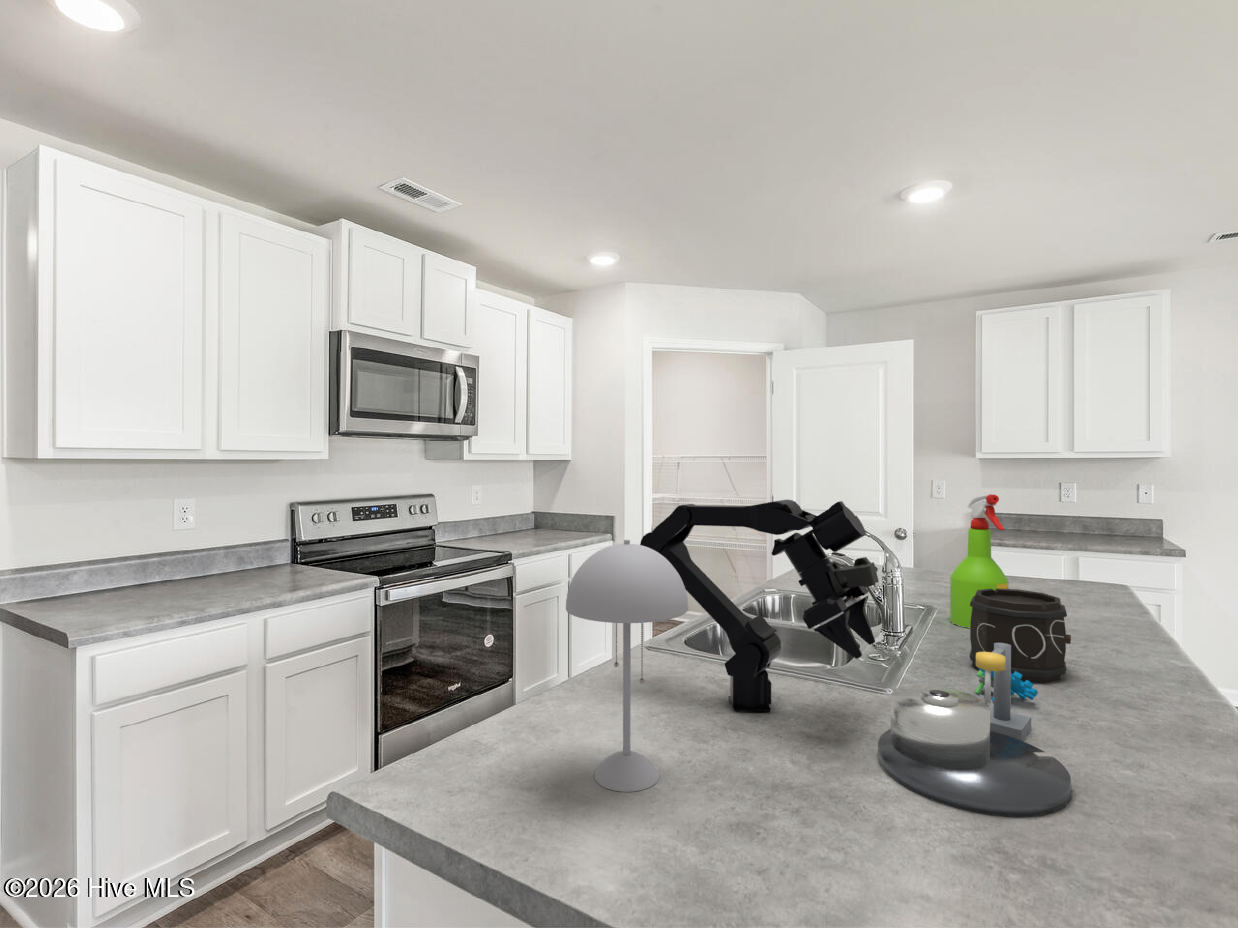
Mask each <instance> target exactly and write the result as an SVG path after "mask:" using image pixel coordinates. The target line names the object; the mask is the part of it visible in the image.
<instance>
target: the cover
mask: <svg viewBox="0 0 1238 928" xmlns="http://www.w3.org/2000/svg"><path fill="white" fill-rule="evenodd" d="M890 698H891V699H890V701H891V702H890V726H891V727H890V729H891V743H892V746H893V747H894V748H895V749H896V750H897V751H898V752H900V753H901V754H903V755H905V756H906V757H908V758H911V759H913V760H915V761H918V762H921V763H924V764H928V765H932V766H936V767H941V768H948V769H974V768H979V767H982V766H984V765H986V764H987V763H988V762H989V760H990V708H991V707H990V705H988V704H987V703H986V702H985V700H983V699H982V698H979V697H978V696H975V695H973V694H970V693H968V692H965V691H961V690H957V689H953V688H948V687H942V686H935V685H924V684H923V685H921V684H920V685H918V684H917V685H914V684H913V685H905V686H904V685H903V686H900V687H898V688H895V689H893V691H891V695H890Z"/></svg>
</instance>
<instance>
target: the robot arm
mask: <svg viewBox="0 0 1238 928" xmlns="http://www.w3.org/2000/svg"><path fill="white" fill-rule="evenodd" d="M695 526H698V527H699V526H701V527H702V526H704V527H706V526H708V527H739V528H741V527H742V528H747V529H751V530H754V531H756V532H761V533H767V534H771V535H775V536H780V535H784V534H788V533H791V532H794V533H793V534H791V535H790V536H788V537H786V538H785V539H782V538H777V539H774V540H773V548H772V551H771V556H773V557H776V556H778V555H781V554H782V553H785V556H786V557H787V558H788V560H789V561H790V563H791V565H792V566H793V568H794V570H795V572H796V573H797V574H798V576H799V578H800V579H799V580H798V581H797V582H798V583H799V585H800V586H801V587H803V586H805V587H806V589H807V590H808V592H809V594H810V596H811V597H812V599H813V600H814V601H812V602H811V605H812V606H810V607H808V608H807V609H805V610H803V611H804V612H803V615H802V620H803V622H804V623H805V625H806V627H807V628H808V630H810V629H812V628H813V629H812V630H813V631H814V632H815V633H818V634H820V635H821V636H822V637H824V638H826V639H828V640H829V641H830V642H832V643H833V644H835V645H836V646H837V647H839V648H841V649H842V650H843V651H844V652H846V653H847V654H848V655H850V657H852V658H854V659H859V658H861V657H863V656H862V655H863V653H862V651H861V648H860V646H859V644H858V642H857V640H856V638H855V636H854V634H853V632H855V634H857V636H858V637H860V638H861V639H862V640H863V641H864V642H866V643H867V644H868V645H872V644H875V643H876V639H875V636H874V633H873V630H872V628H871V624H870V621H869V618H868V614H867V611H866V606H867V603H868V600H869V595H867V594H868V593H870V592H869V590H868V588H869V587H872V586H875V585H876V583H877V584H878V583H879V582H880V580H879V578H878V577H879V575H878V574H877V573H878V570H879V569H878V567H876V564H875V562H871V560H870V559H868V558H867V556H865V557H858V558H856V559H855V560H854V563H853V565H849V566H846V567H845V566H844V567H841V566H840V564H839V562H837V561H835V560H834V561H832V562H831V560H830V558H829V556H828V555H827V554H826V552H825V551H828V550H830V551H832V552H833V553H837V552H839V551H840V550H842V549H844V548H846V547H847V546H849V545H851V544H853V543H855V542H857V541H858V540H859V539H861V538H863V537H864V536H866V534H867V532H866V529H865V527H864V524H863V523H862V521H861V520H860V518H859V517H858V516H857V515H855V513H854V512H853V511H852V510H851V509H850V508H848V507H847V506H846V504H845V503H844V502H843V501H840V500H839V501H837V502H836V503H835V502H834V504H832V505H831V506H830V507H829V508H828V509H826V510H825V511H823V512H822V513H820V514H818V515H816V514H814V513H812V512H809V511H806V510H803V509H802V507H801V506H800V505H799V504H798V503H797V502H796V501H794V500H793V499H792V500H791V499H781V500H775V501H774V500H773V501H769V502H764V503H758V504H753V505H725V504H724V505H721V504H720V505H717V504H716V505H714V504H713V505H708V504H707V505H705V504H704V505H703V504H702V505H698V504H694V503H688V504H681V505H678V506H676V508H675V509H673V511H672V512H671V513H670V515H669V516H667V517H666V518H664V520H663V521H662V522H660V523H659V524H658V525H657V526H655V528H653V530H652V531H649V532H647V533H645V534H644V535H643V536H642V538H641V540H640V543H639V545H642V546H645V547H648V548H651V549H653V550H654V551H656V552H658V553H659V554H661V555H662V556H664V557H665V558H666V559H667V560H668V561H669V562H670V563H671V564H672V566H673V567H674V568H675V569H676V571H677V572H678V574H679V575H680V577H681V579H682V581H683V584H684V586H685V589H686V593H688V594H689V595H690V596H691V597H692V598H693V599H694V600H695V601H696V603H698V605H700V606H701V608H702V609H703V610H704V611H705V612H706V613H707V614H708V616H710V617H711V618H712V619H713V620H714V621H715V622H716V624H717V625H718V626H719V627H720V628H721V629H722V630H723V631H724V632H725V634H726V637H727V640H728V643H729V646H730V648H731V650H732V651H733V652H734V654H733V656H732V657H731V658H728V660H727V661H725V663H724V667H725V671H726V673H727V675H728V676H729V678H730V687H729V691H730V692H729V695H728V701H729V703H730V706H731V708H732V711H733V712H737V713H738V712H748V713H751V712H752V713H754V712H755V713H756V712H760V713H761V712H763V713H764V712H765V713H768V712H769V713H770V712H771V711H772V710H771V707H770V706H771V705H772V681H771V680H770V677H769V672H768V671H767V668H770V667H771V665H772V662H773V661H774V660H775V659H777V658H778V657H779V655H780V653H781V650H782V642H781V641H782V640H781V639H780V637H779V636H778V635H777V632H778V629H776V628H774V627H772V626H771V625H770V624H769V623H768V621H767V620H766V619H765V618H764V616H762V615H761V614H758V615H756V616H755V617H750V616H748V615H747V614H745V613H744V612H742V610H741V609H740V608H739V607H738V606H737V605H736V604H735V603H734V602H733V601H732V600H731V599H730V598H729V597H728V596H727V595H726V594H725V593H724V592H723V590H721V589H720V588H719V586H718V585H717V584H716V583H714V582H713V581H712V579H711V578H710V577H708V576H707V574H706V573H705V572H704V571H702V569H701V568H700V567H699V566H698V565H697V564H696V563H695V562H694V561H693V560H692V559H691V555H690V551H689V550H688V547H687V545H686V544H685V540H686V539H687V538H688V537H689V536H690V534H691V532H692V530H693V528H694V527H695ZM808 528H812V529H811V530H809V531H808V532H805V533H804V534H802V533H799V532H795V531H801V530H805V529H808ZM824 550H825V551H824ZM865 595H866V596H865ZM861 597H862V598H861ZM814 627H815V628H814ZM852 630H853V631H852Z"/></svg>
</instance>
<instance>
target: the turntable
mask: <svg viewBox="0 0 1238 928" xmlns="http://www.w3.org/2000/svg"><path fill="white" fill-rule="evenodd" d="M877 743H878V746H877V747H878V749H877V751H878V752H877V753H878V754H877V757H878V762H879V764H880V766H881V768H882V769H883V771H884V772H885V773H886V774H887V775H888V777H891V778H892V779H893V780H894V781H895V782H897V783H898V784H900V785H901V786H903V787H905V788H906V789H908V790H910V791H912V792H914V793H915V794H918V795H920V796H922V797H924V796H925V797H924V798H927V797H928V798H927V799H929V798H930V799H929V800H932V799H933V800H932V801H934V800H935V802H937V801H938V802H937V803H940V802H941V803H940V804H943V803H944V804H943V805H946V804H947V806H949V805H950V807H953V808H956V807H957V809H960V808H961V810H964V809H965V811H969V810H970V811H969V812H972V813H973V812H974V813H978V814H985V815H991V816H1002V817H1017V818H1018V817H1021V818H1022V817H1023V818H1024V817H1037V816H1044V815H1048V814H1052V813H1055V812H1058V811H1060V810H1062V809H1063V808H1065V807H1066V806H1067V805H1068V804H1069V802H1070V800H1071V787H1072V786H1071V783H1072V782H1071V779H1072V778H1071V775H1070V773H1069V771H1068V769H1067V768H1066V767H1065V765H1063V764H1062V763H1061V762H1060V761H1059V760H1058V759H1056V758H1055V757H1054V756H1053V755H1052V754H1050V753H1049V752H1046V751H1044V750H1043V749H1041V748H1039V747H1038V746H1034V745H1033V744H1030V743H1028V742H1026V741H1024V740H1023V741H1021V740H1018V739H1016V738H1013V737H1010V736H1007V735H1004V734H1000V733H997V732H993V731H990V760H989V762H988V763H987V764H986V765H984V766H982V767H979V768H974V769H948V768H941V767H936V766H932V765H928V764H924V763H921V762H918V761H915V760H913V759H911V758H908V757H906V756H905V755H903V754H901V753H900V752H898V751H897V750H896V749H895V748H894V747H893V746H892V743H891V728H889V729H888V730H886V731H884V732H883V733H882V734H881V735H880V737H879V739H878V741H877Z"/></svg>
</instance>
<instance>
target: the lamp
mask: <svg viewBox="0 0 1238 928" xmlns="http://www.w3.org/2000/svg"><path fill="white" fill-rule="evenodd" d="M687 593H688V592H687V591H686V589H685V586H684V584H683V581H682V579H681V577H680V575H679V574H678V572H677V571H676V569H675V568H674V567H673V566H672V564H671V563H670V562H669V561H668V560H667V559H666V558H665V557H664V556H662V555H661V554H659V553H658V552H656V551H654V550H653V549H651V548H648V547H645V546H642V545H640V544H637V543H631V540H630V539H623V543H618V544H617V543H616V544H612V545H609V546H605V547H604V548H600V549H599V550H597V551H596V552H594V553H593V554H591V555H590V556H588V557H587V558H586V560H585V561H583V562H582V564H581V565H580V566H579V567H578V569H577V570H576V572H575V573H574V575H573V577H572V580H571V581H570V583H569V586H568V590H567V593H566V600H565V611H566V612H567V613H568V614H570V615H571V616H573V617H576V618H579V619H584V620H588V621H594V622H601V623H611V624H613V623H614V624H615V662H614V663H613V666H614V667H615V668H618V667H619V665H620V663H619V662H618V645H617V644H618V624H623V625H622V627H623V628H622V657H623V658H622V695H623V696H622V750H620V751H616V752H613V753H611V754H610V755H608V756H607V757H605V758H604V759H603V760H602V761H601V762H600V763H599V764H598V766H597V767H596V769H595V770H594V772H593V778H594V781H595V782H596V784H598V785H599V786H601V787H603V788H605V789H608V790H610V791H615V792H620V793H621V792H623V793H624V792H625V793H629V792H630V793H631V792H640V791H643V790H647V789H648V788H649V789H650V788H651V787H654V785H656V784H657V783H658V781H659V780H660V772H659V770H658V769H657V767H656V766H655V764H654V763H653V762H652V761H651V759H650V758H648V757H646V756H645V755H644V754H641V752H640V753H639V752H637V751H633V750H631V684H632V683H631V681H632V680H631V672H632V671H631V668H632V667H631V656H632V653H631V651H632V649H631V648H632V647H631V643H632V642H631V633H632V632H631V628H632V627H631V626H632V625H631V624H641V632H640V633H641V636H640V637H641V638H640V640H641V644H640V645H641V646H640V647H641V648H640V651H641V656H640V657H641V660H640V662H641V664H640V665H641V669H640V670H641V673H640V674H641V675H640V676H641V678H640V679H639V680H638V681H639V683H640V685H641V684H642V685H643V684H644V683H645V682H646V680H645V679H644V677H643V674H644V673H643V672H644V671H643V670H644V669H643V666H644V665H643V664H644V662H643V661H644V660H643V658H644V656H643V655H644V654H643V653H644V652H643V650H644V648H643V647H644V645H643V643H644V642H643V639H644V638H643V635H644V632H643V628H644V626H643V625H644V624H643V623H654V622H655V623H656V622H662V621H664V622H665V621H668V620H673V619H677V618H679V617H681V616H684V615H685V614H686V613H687V612H688V611H689V601H688V594H687Z"/></svg>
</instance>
